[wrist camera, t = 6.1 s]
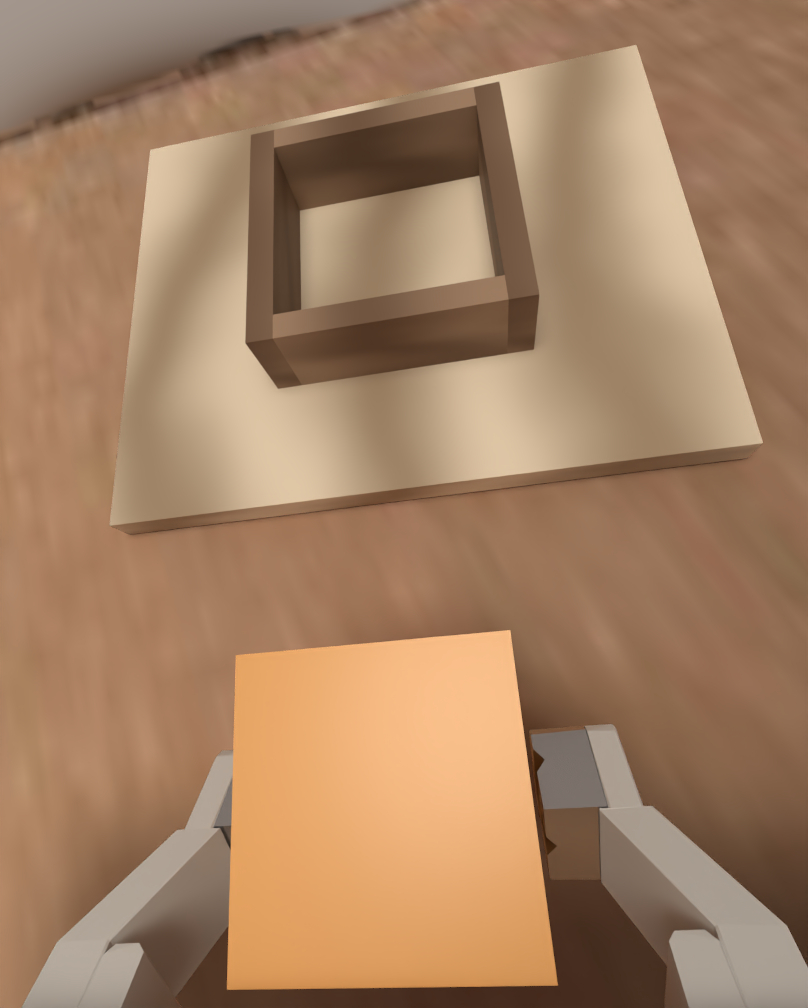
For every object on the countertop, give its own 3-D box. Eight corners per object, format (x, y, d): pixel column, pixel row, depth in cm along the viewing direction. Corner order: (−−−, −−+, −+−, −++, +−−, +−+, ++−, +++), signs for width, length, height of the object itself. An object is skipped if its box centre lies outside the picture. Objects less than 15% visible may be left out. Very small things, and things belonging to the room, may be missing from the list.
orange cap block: (504, 663, 15) (510, 629, 8) (526, 830, 14) (558, 985, 6) (360, 675, 16) (235, 655, 8) (368, 837, 14) (226, 989, 7)
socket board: (630, 73, 21) (654, -40, 18) (747, 457, 16) (811, 396, 13) (164, 171, 24) (110, 87, 20) (129, 534, 18) (49, 499, 15)
